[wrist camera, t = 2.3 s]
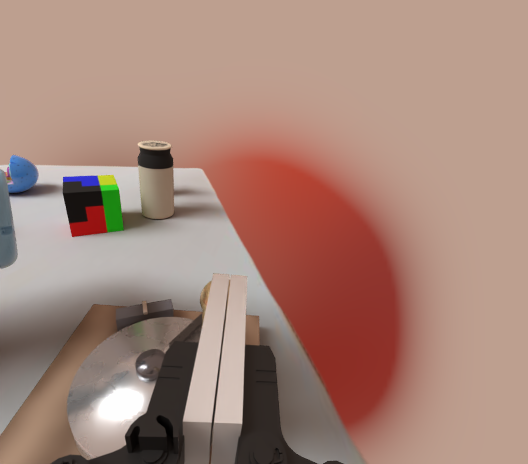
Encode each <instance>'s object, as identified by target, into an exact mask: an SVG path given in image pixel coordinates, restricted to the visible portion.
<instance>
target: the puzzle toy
mask: <svg viewBox="0 0 528 464" xmlns="http://www.w3.org/2000/svg"><path fill="white" fill-rule="evenodd" d="M63 196H64V201H65V206H66V210H67V215H68V220H69V224H70V229H71V234H72V237H75V236H83V235H91V234H99V233H107V232H114V231H122V230H124V229H123V220H122V211H121V203H120V194H119V188H118V186H117V183H116V181H115V178H114V175H101V176H76V177H63Z"/></svg>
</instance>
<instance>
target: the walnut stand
mask: <svg viewBox="0 0 528 464" xmlns="http://www.w3.org/2000/svg"><path fill="white" fill-rule="evenodd" d="M201 313H202V312H196V311H182V310H173V305H172V301H171V299H169V300H163V301H157V302H152V303H146V301H142V304H140V305H135V306H129V307H126V306H112V305H98V304H94V305H93V306H92V307H91V309H90V310H89V312H88V313H87V314H86V316H85V317H84V319H83V320H82V321H81V323H80V324H79V326H78V327H77V328H76V330H75V331H74V333H73V334H72V336H71V337H70V338H69V340H68V341H67V343H66V344H65V345H64V347H63V348H62V350H61V351H60V352H59V354H58V355H57V357H56V358H55V359H54V361H53V362H52V364H51V365H50V366H49V368H48V369H47V371H46V372H45V374H44V375H43V376H42V378H41V379H40V381H39V382H38V383H37V385H36V386H35V388H34V389H33V390H32V392H31V393H30V395H29V396H28V397H27V399H26V400H25V402H24V403H23V405H22V406H21V407H20V409H19V410H18V412H17V413H16V414H15V416H14V417H13V419H12V420H11V421H10V423H9V424H8V426H7V427H6V428H5V430H4V431H3V433H2V434H1V435H0V464H51V463H52V462H54V461H55V460H57V459H58V458H61V457H64V456H67V455H70V454H71V455H81V454H80V452H79V450H78V448H77V445H76V442H75V439H74V436H73V433H72V430H71V427H70V424H69V421H68V415H67V399H68V394H69V389H70V386H71V384H72V381H73V378H74V376H75V375H76V373H77V371H78V369H79V367H80V366H81V364H82V363H83V362H84V360H85V359H86V358H87V357H88V355H89V354H90V353H91V352H92V351H93V350H94V349H95V348H96V347H97V346H98V345H99V344H101V343H102V342H103V341H104V340H106V339H107V338H108V337H110V336H111V335H113V334H114V333H116V332H118V331H120V330H122V329H123V328H125V327H128V326H130V325H132V324H135V323H138V322H141V321H144V320H148V319H153V318H159V317H181V318H187V319H192V320H195V319H196V318H197V317H198V316H199V315H200V314H201ZM245 345H260V338H259V316H252V315H246V326H245ZM211 454H212V444H211V450H210V459H209V464H211ZM81 456H82V455H81Z"/></svg>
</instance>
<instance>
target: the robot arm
mask: <svg viewBox="0 0 528 464" xmlns="http://www.w3.org/2000/svg"><path fill="white" fill-rule="evenodd" d="M17 256H18V253H17V245H16V238H15V231H14V224H13V217H12V211H11V204H10V198H9V191H8V185H7V179H6V174H5V172H4V171H3V170H1V169H0V269H2V268H6V267H8V266H10V265H12V264H13V263H14V262H15V261H16V259H17ZM229 277H230V275H228V274H215V273H213V278H212V283H211V287H210V292H209V297H208V302H207V307H206V312H205V316H204V321H203V326H202V331H201V336H200V341H199V342H184V341H175V342H174V343H173V344H172V345H171V346H170V348H169V349H168V350H167V351H166V353H165V356H164V359H163V362H162V365H161V368H160V371H159V374H158V379H157V381H156V384H155V387H154V390H153V393H152V396H151V399H150V402H149V405H148V409H147V412H146V413H145V414H144V415H142V416H140V417H138V418H137V419H136V420H135V421H134V422H133V423H132V424H131V425H130V427H129V429H128V431H127V433H126V434H125V441H126V445H125V446H123V447H122V448H121V449H118V450H116V451H114V452H111V453H108V454H105V455H102V456H99V457H96V458H93V459H90V460H87V459H85V458H84V457H83V456H81V455H71V454H70V455H67V456H64V457H61V458H58V459H57V460H55V461H54V462H52V463H51V464H209V459H210V450H211V442H212V433H213V442H212V454H211V464H317V463H315V462H313V461H310V460H308V459H306V458H303V457H301V456H300V455H298V454H296V453H295V452H294V451H293V450H292V449H291V448H290V447H289V446H288V445H287V443H286V442H285V440H284V438H283V435H282V432H281V427H280V414H279V401H278V388H277V375H276V363H275V357H274V355H273V353H272V351H271V349H270V347H269V346H261V345H245V326H246V295H247V276H240V275H231V280H230V288H229ZM228 288H229V297H228ZM227 300H228V306H227ZM226 311H227V314H226ZM225 321H226V323H225ZM224 330H225V332H224ZM223 339H224V340H223ZM222 347H223V349H222ZM221 356H222V358H221ZM220 364H221V366H220ZM219 373H220V375H219ZM218 382H219V384H218ZM217 390H218V392H217ZM216 399H217V401H216ZM215 407H216V410H215ZM214 416H215V418H214ZM213 425H214V429H213ZM324 464H343V463H341V462H338V461H327V462H325V463H324Z"/></svg>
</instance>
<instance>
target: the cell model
mask: <svg viewBox="0 0 528 464" xmlns="http://www.w3.org/2000/svg"><path fill="white" fill-rule="evenodd" d="M5 174H6V179H7V185H8V191H9V193H19V192H23V191H26V190H28V189H30V188H31V187H33V186H34V185H35V184H36V182H37V180H38V176H39V173H38V170H37V168H36V166H35V165H34V164H33V163H31V162H30V161H29V160H27V159H25V158H23V157H20V156H16V155H12V157H11V158H10V164H9V167H8V168H7V172H5Z"/></svg>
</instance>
